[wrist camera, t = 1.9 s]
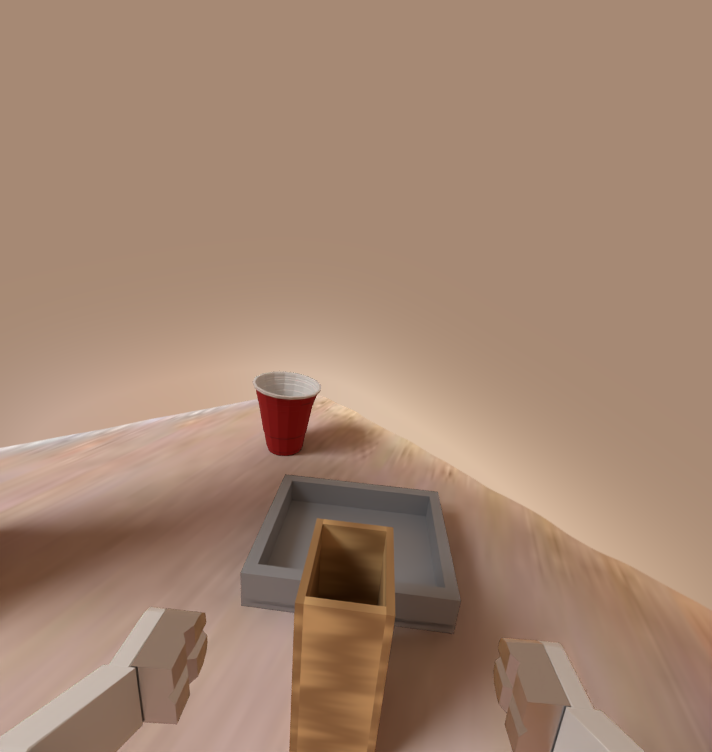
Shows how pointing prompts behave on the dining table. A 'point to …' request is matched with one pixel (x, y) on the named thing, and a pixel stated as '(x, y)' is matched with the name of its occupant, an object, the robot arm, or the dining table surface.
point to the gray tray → (366, 506)
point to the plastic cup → (285, 409)
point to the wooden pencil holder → (342, 637)
